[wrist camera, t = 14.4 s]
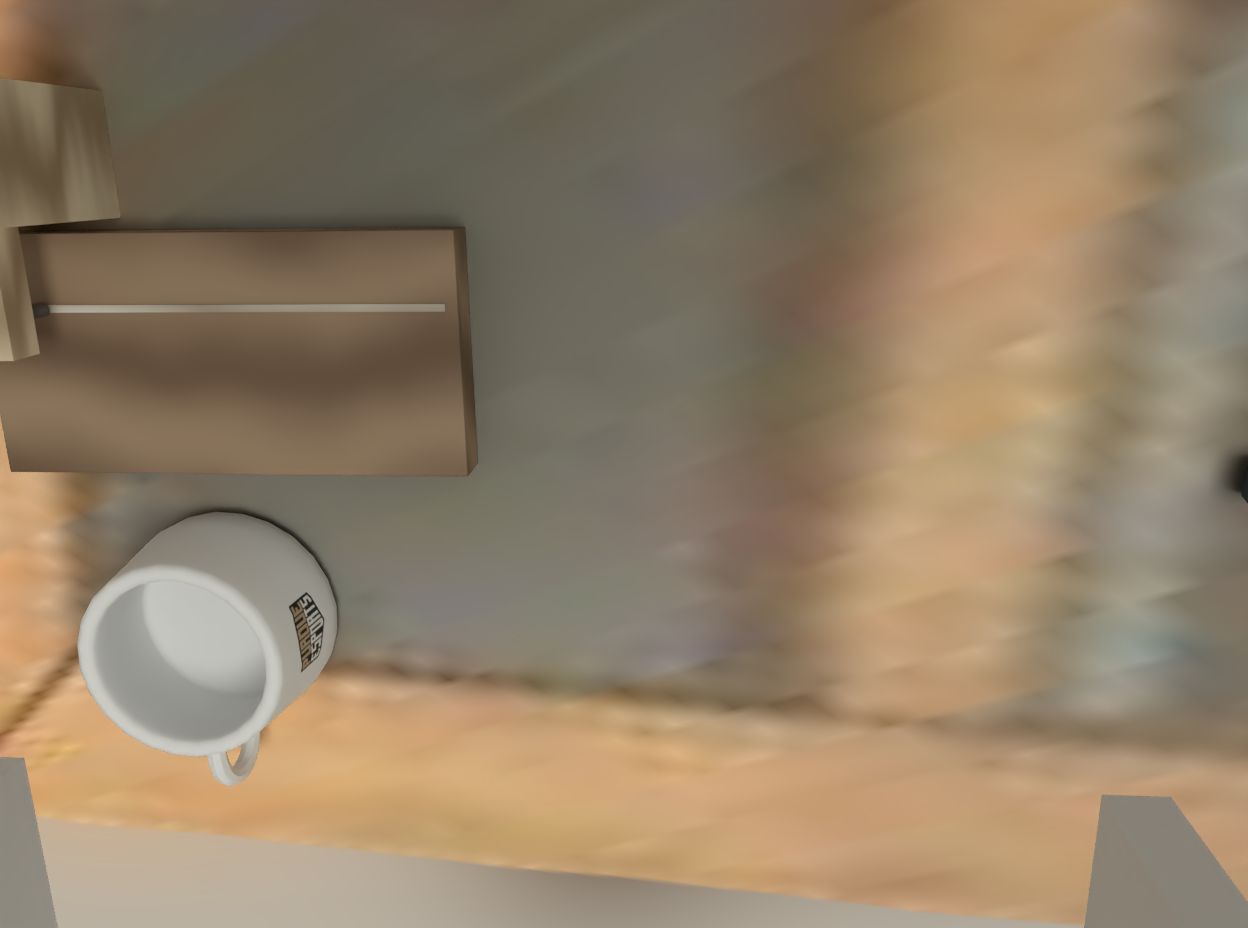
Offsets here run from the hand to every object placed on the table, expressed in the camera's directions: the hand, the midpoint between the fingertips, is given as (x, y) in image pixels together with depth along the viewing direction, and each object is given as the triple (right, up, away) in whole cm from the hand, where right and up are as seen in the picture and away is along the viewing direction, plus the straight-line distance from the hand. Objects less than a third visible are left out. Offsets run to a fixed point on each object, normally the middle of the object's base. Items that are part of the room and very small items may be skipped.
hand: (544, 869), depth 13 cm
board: (-15, +10, +32) cm, 36 cm away
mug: (-17, -3, +36) cm, 39 cm away
